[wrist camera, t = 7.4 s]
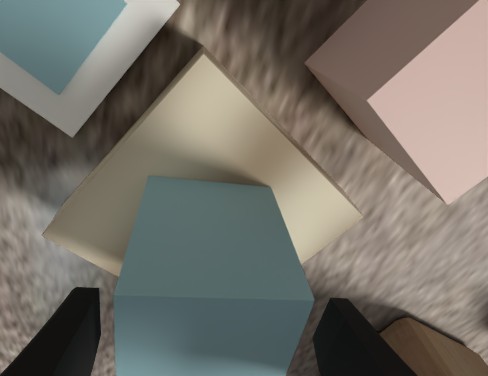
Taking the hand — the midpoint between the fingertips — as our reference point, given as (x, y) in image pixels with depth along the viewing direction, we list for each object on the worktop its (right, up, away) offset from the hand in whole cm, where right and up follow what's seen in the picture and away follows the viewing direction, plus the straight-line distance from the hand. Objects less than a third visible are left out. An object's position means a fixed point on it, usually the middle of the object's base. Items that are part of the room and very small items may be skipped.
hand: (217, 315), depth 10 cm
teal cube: (-1, +2, +4) cm, 5 cm away
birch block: (-1, +4, +7) cm, 8 cm away
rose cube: (+7, +10, +4) cm, 12 cm away
